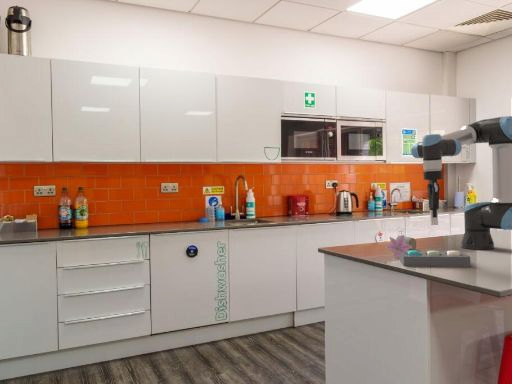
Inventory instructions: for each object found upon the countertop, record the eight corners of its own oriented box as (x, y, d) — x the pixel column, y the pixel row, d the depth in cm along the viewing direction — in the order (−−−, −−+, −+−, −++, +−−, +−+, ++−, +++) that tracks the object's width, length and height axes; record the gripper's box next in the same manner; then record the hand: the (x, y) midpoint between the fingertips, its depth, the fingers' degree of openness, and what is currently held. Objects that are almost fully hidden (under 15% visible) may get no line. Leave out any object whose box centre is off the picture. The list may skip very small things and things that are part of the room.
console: (462, 261, 189) (462, 252, 189) (470, 266, 178) (470, 256, 178) (399, 260, 194) (399, 251, 194) (403, 265, 183) (403, 256, 182)
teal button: (418, 259, 189) (418, 250, 189) (421, 261, 185) (420, 252, 184) (406, 259, 190) (406, 250, 190) (408, 261, 186) (408, 252, 185)
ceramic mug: (410, 253, 213) (410, 237, 213) (394, 251, 219) (394, 236, 219) (420, 250, 220) (420, 235, 220) (405, 248, 226) (405, 234, 226)
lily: (380, 259, 204) (385, 243, 199) (385, 246, 213) (390, 230, 208) (406, 268, 200) (412, 252, 195) (410, 255, 209) (416, 238, 204)
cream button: (458, 259, 186) (458, 250, 186) (461, 262, 182) (461, 252, 181) (445, 259, 187) (445, 250, 187) (448, 262, 182) (448, 252, 182)
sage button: (438, 259, 188) (438, 250, 188) (441, 261, 183) (440, 252, 183) (426, 259, 189) (426, 250, 189) (428, 261, 184) (428, 252, 184)
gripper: (420, 170, 195) (422, 223, 196) (426, 170, 183) (428, 226, 184) (438, 170, 194) (439, 222, 195) (445, 170, 181) (447, 226, 182)
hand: (434, 224), depth 189 cm, fingers closed
